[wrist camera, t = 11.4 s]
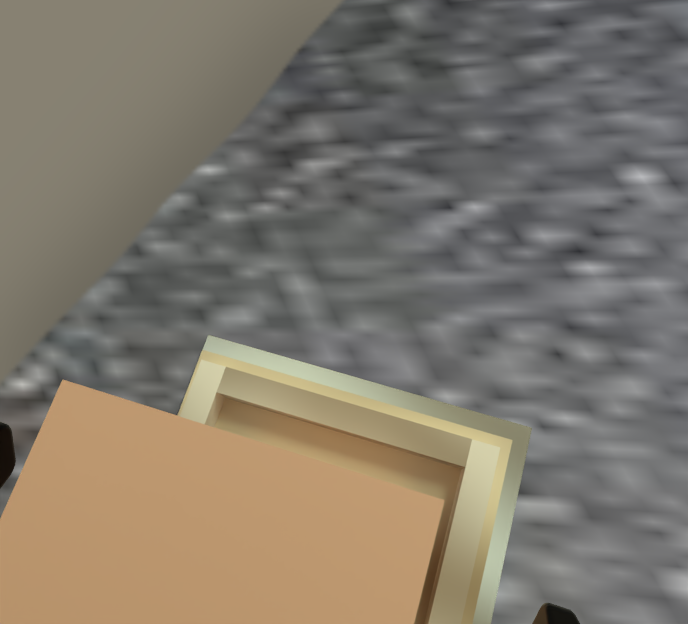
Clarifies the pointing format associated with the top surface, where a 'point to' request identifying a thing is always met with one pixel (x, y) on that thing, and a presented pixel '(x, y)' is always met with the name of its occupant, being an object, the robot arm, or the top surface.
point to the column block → (200, 527)
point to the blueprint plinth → (382, 456)
